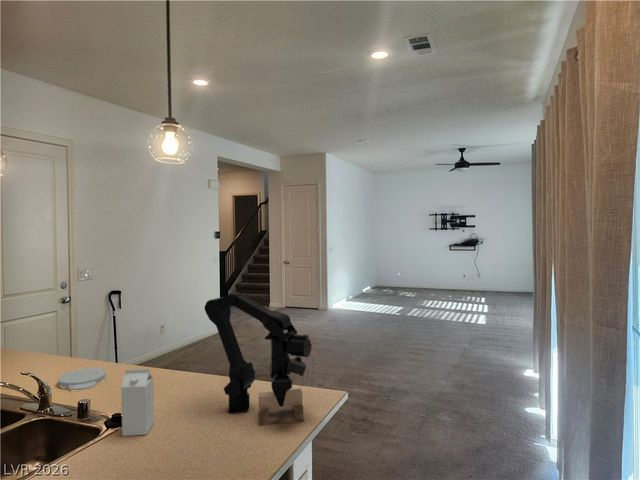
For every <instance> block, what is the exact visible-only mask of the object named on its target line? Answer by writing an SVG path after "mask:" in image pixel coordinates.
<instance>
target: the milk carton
mask: <svg viewBox="0 0 640 480" xmlns="http://www.w3.org/2000/svg"><path fill="white" fill-rule="evenodd" d="M120 387H121V388H120V389H121V390H120V393H121V396H120V397H121V428H122V429H121V431H122V435H121V436H122V437H130V436H147V434H148V433H149V432H150V430H151V429H152V427H153V426H154V424H155V415H154V414H155V413H154V411H155V410H154V377H153V376H152V375H151V373H150V369H149V368H140V369H139V368H138V369H125V370H124V377H123V380H122V382H121V386H120Z"/></svg>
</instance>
